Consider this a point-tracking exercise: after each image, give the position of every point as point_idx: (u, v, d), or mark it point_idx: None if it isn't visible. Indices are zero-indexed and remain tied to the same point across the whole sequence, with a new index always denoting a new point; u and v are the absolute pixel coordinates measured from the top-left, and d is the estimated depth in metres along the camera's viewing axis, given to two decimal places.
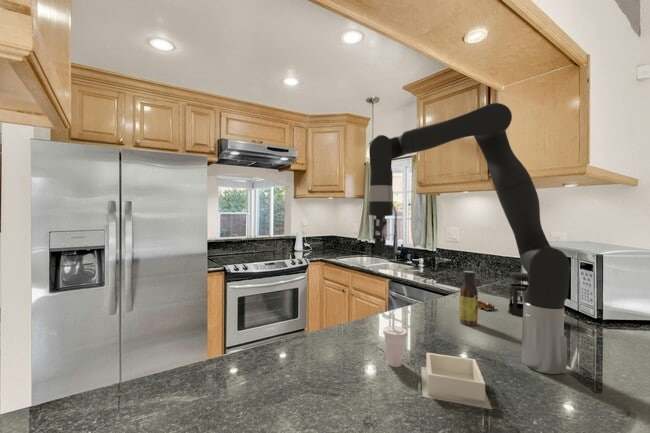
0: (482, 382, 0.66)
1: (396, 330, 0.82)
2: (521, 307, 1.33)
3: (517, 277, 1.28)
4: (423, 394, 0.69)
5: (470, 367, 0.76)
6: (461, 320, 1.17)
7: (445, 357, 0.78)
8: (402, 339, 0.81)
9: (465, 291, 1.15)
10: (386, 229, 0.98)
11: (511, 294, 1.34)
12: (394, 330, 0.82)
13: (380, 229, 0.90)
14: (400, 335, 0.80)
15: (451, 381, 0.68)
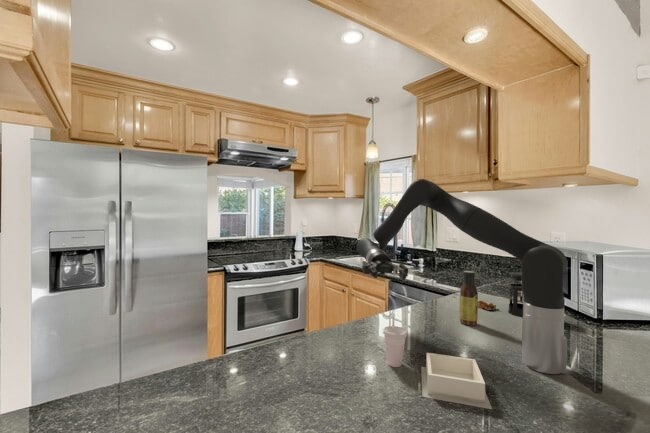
0: (482, 382, 0.66)
1: (396, 330, 0.82)
2: (521, 307, 1.33)
3: (517, 277, 1.28)
4: (423, 394, 0.69)
5: (470, 367, 0.76)
6: (461, 320, 1.17)
7: (445, 357, 0.78)
8: (402, 339, 0.81)
9: (465, 291, 1.15)
10: (392, 264, 0.99)
11: (511, 294, 1.34)
12: (394, 330, 0.82)
13: (363, 264, 0.99)
14: (400, 335, 0.80)
15: (451, 381, 0.68)
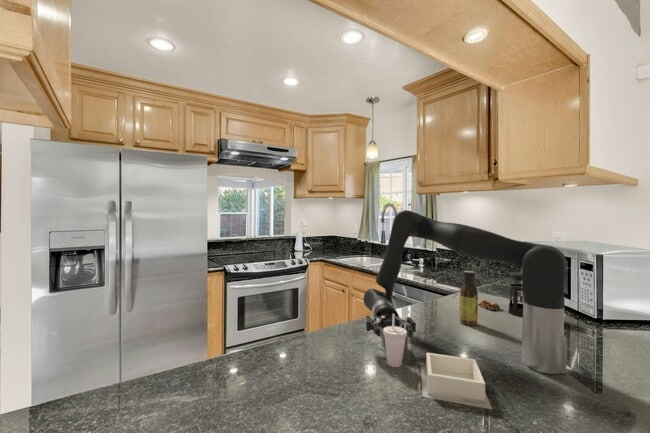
0: (482, 382, 0.66)
1: (396, 330, 0.82)
2: (521, 307, 1.33)
3: (517, 277, 1.28)
4: (423, 394, 0.69)
5: (470, 367, 0.76)
6: (461, 320, 1.17)
7: (445, 357, 0.78)
8: (402, 339, 0.81)
9: (465, 291, 1.15)
10: (398, 318, 0.91)
11: (511, 294, 1.34)
12: (394, 330, 0.82)
13: (366, 320, 0.91)
14: (400, 335, 0.80)
15: (451, 381, 0.68)
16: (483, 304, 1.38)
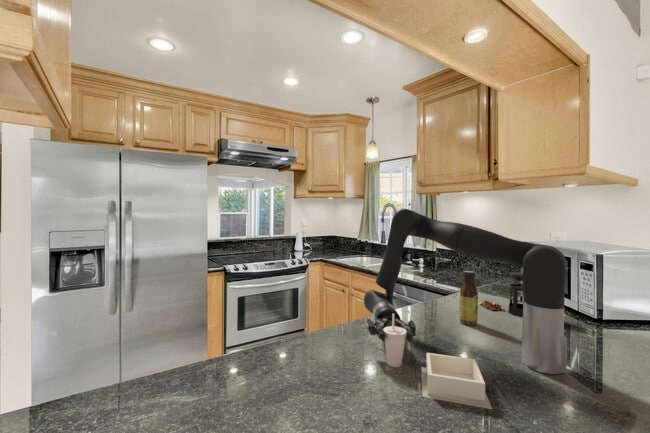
0: (482, 382, 0.66)
1: (396, 330, 0.82)
2: (521, 307, 1.33)
3: (517, 277, 1.28)
4: (423, 394, 0.69)
5: (470, 367, 0.76)
6: (461, 320, 1.17)
7: (445, 357, 0.78)
8: (402, 339, 0.81)
9: (465, 291, 1.15)
10: (398, 321, 0.88)
11: (511, 294, 1.34)
12: (394, 330, 0.82)
13: (368, 324, 0.88)
14: (400, 335, 0.80)
15: (451, 381, 0.68)
16: (484, 304, 1.39)
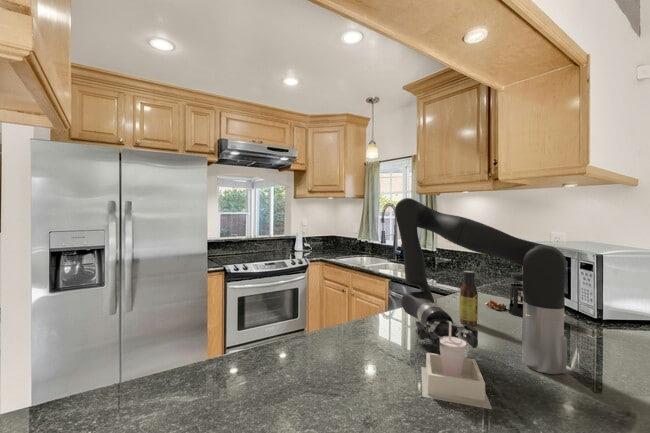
0: (482, 382, 0.66)
1: (454, 341, 0.72)
2: (522, 307, 1.33)
3: (517, 277, 1.27)
4: (423, 394, 0.69)
5: (470, 367, 0.76)
6: (461, 320, 1.17)
7: None
8: (462, 352, 0.71)
9: (465, 291, 1.16)
10: (455, 325, 0.78)
11: (512, 294, 1.34)
12: (452, 341, 0.72)
13: (417, 326, 0.78)
14: (460, 347, 0.70)
15: (451, 381, 0.68)
16: (490, 304, 1.39)
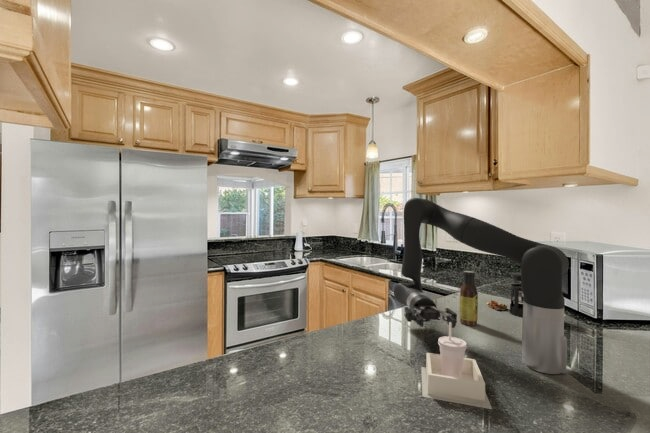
0: (482, 382, 0.66)
1: (454, 341, 0.72)
2: (522, 307, 1.33)
3: (518, 277, 1.27)
4: (423, 394, 0.69)
5: (470, 367, 0.76)
6: (461, 320, 1.17)
7: None
8: (462, 352, 0.71)
9: (465, 291, 1.15)
10: (437, 309, 0.90)
11: (512, 294, 1.33)
12: (452, 341, 0.72)
13: (405, 311, 0.91)
14: (460, 347, 0.70)
15: (451, 381, 0.68)
16: (491, 304, 1.39)
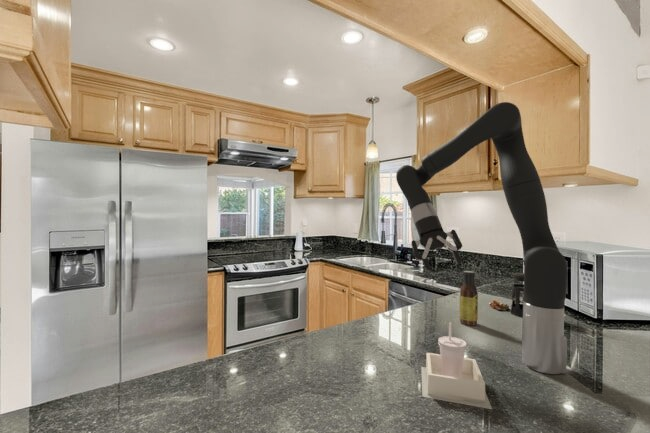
0: (482, 382, 0.66)
1: (454, 341, 0.72)
2: None
3: (519, 277, 1.27)
4: (423, 394, 0.69)
5: (470, 367, 0.76)
6: (461, 320, 1.17)
7: None
8: (462, 352, 0.71)
9: (465, 291, 1.16)
10: (444, 242, 0.93)
11: (514, 295, 1.33)
12: (452, 341, 0.72)
13: (413, 250, 0.95)
14: (460, 347, 0.70)
15: (451, 381, 0.68)
16: (493, 304, 1.39)
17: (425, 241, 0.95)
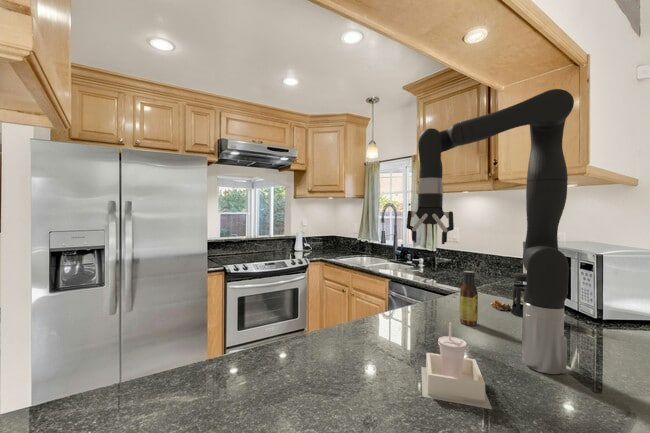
0: (482, 382, 0.66)
1: (454, 341, 0.72)
2: None
3: (520, 278, 1.27)
4: (423, 394, 0.69)
5: (470, 367, 0.76)
6: (461, 320, 1.17)
7: None
8: (462, 352, 0.71)
9: (465, 291, 1.16)
10: (437, 221, 0.96)
11: (514, 295, 1.33)
12: (452, 341, 0.72)
13: (407, 219, 1.00)
14: (460, 347, 0.70)
15: (451, 381, 0.68)
16: (494, 304, 1.39)
17: (420, 215, 0.98)
